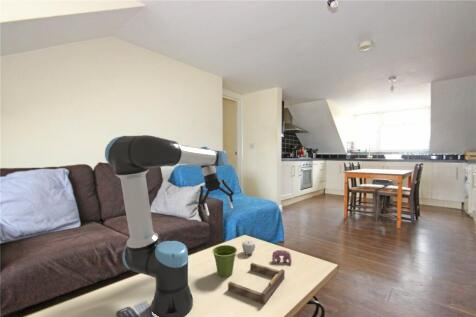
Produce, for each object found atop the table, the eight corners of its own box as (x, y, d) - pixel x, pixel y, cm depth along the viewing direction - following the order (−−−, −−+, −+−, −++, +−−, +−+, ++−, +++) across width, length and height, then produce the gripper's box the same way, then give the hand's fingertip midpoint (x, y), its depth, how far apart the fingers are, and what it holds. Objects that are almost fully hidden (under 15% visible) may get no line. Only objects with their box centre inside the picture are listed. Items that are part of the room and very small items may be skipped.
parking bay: (228, 290, 97) (228, 279, 97) (251, 268, 115) (251, 259, 114) (264, 304, 88) (264, 292, 88) (284, 278, 106) (284, 268, 106)
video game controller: (291, 264, 122) (290, 250, 125) (292, 264, 118) (291, 250, 120) (272, 263, 123) (271, 249, 126) (272, 263, 118) (272, 249, 121)
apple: (244, 249, 137) (244, 238, 137) (257, 251, 135) (257, 239, 134) (239, 254, 130) (239, 243, 130) (253, 257, 127) (253, 245, 127)
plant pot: (208, 270, 113) (208, 247, 113) (230, 264, 118) (230, 243, 118) (218, 282, 103) (218, 257, 102) (241, 276, 108) (241, 252, 108)
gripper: (232, 168, 131) (242, 205, 128) (190, 180, 132) (200, 217, 130) (230, 167, 123) (241, 206, 121) (186, 180, 125) (196, 219, 122)
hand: (220, 212), depth 125 cm, fingers open, 13 cm apart
